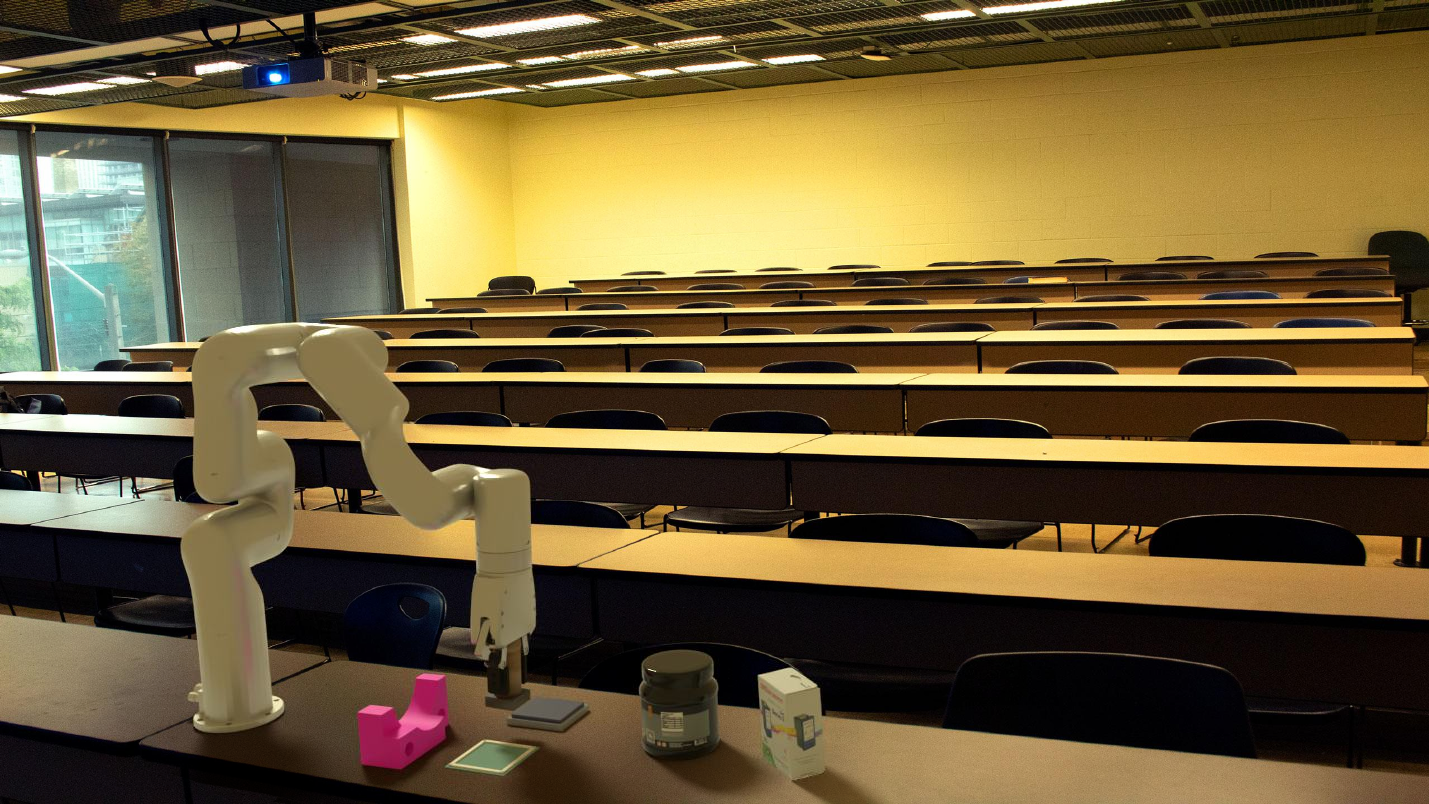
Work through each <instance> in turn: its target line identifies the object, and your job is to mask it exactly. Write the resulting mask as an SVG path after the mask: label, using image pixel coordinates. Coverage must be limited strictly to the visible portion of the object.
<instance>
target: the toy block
mask: <svg viewBox="0 0 1429 804" xmlns="http://www.w3.org/2000/svg"><path fill="white" fill-rule="evenodd" d="M448 704H449V703H448V688H447V675H445V674H432V673H425V672H424V673H422V674H420V675H418V676H417V677H415V680H414V690H413V694H412V699H411V701H410V703H409V706H408V708H407V710H406V711H405V713H404V715H403V716H402V717H401V718H400V719H399V720H398V717H397V715H396V712H395V708H394V707H392V706H384V705H383V706H382V705H375V704H369V705H368V706H365V707H364V708H362V709H361V710H359V711H357V721H358V735H359V745H360V746H359V747H360V758H361V759H360V761H361V765H362V766H369V767H370V766H372V767H379V768H387V769H394V770H395V769H396V770H402V769H404V768H406V767H407V766H408V765H411V764H412V763H413V762H414V761H416V760H417V759H419V758H420V757H421V756H423V755H424V754H426V753H427V752H429V751H430V750H431V749H433V748H434V747H436V746H437V745H439V744H440V743H442V742H443V741H444V740H446V739H447V738H446V737H447V736H446V727H448V726H449V725H450V720H449V719H450V717H449V705H448Z"/></svg>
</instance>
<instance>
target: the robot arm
mask: <svg viewBox="0 0 1429 804" xmlns="http://www.w3.org/2000/svg"><path fill="white" fill-rule="evenodd" d="M388 363H389V351H388V348H387V345H386V344H385V342H384V340H383V339H382V338H381V336H379V334H378V333H376V332H375V331H374V330H372V329H370V328H367V327H364V326H360V325H339V324H338V325H336V324H325V323H323V324H321V323H311V322H310V323H308V322H283V323H282V322H281V323H270V324H254V325H253V324H252V325H243V326H238V327H234V328H233V327H232V328H229V329H225V330H222V331H219V332H217V333H215V334H212V335H211V336H210V337H208V338H207V339H206V340H204V341H203V343H202V344H201V345H200V346H199V348H198V349H197V350H196V352H195V354H194V357H193V360H192V365H191V385H192V393H193V405H194V407H193V409H194V413H193V415H194V418H193V419H194V420H193V452H192V453H193V454H192V455H193V456H192V459H193V461H192V475H193V476H192V477H193V484H194V485H193V486H194V488H195V490H196V493H197V494H198V495H199V496H200V498H202V499H203V500H204V501H206V502H208V503H213V504H227V503H231V502H236V501H238V502H237V503H238V504H234V505H230V506H227V507H224V508H220V509H217V510H214V511H212V512H209V513H207V514H204V515H202V516H200V517H198V518H197V519H195V520H193V522H191V523H190V524H189V525H188V527H187V528H186V529H185V530H184V532H183V535H182V537H181V539H180V540H181V541H180V554H181V559H182V562H183V565H184V568H185V571H186V574H187V577H188V582H189V584H190V589H191V596H192V604H193V611H194V622H195V629H196V639H197V641H196V642H197V649H198V660H199V661H198V662H199V671H200V673H199V674H200V681H201V683H200V682H199V683H197V684H196V685H194V687H193V691H191V692H189V693H188V695H187V700H188V701H189V702H193V703H198V708H199V710H198V711H197V712H196V713H195V714H194V716H193V717H192V718H193V719H192V721H193V726H194V727H195V729H197V730H198V731H201V732H203V733H209V734H227V733H229V734H230V733H236V732H241V731H247V730H251V729H253V728H257V727H261V726H263V725H266V724H268V723H271V722H273V721H274V720H276V719H278V718H279V717H280V716H281V715H283V713H284V712H285V702H284V700H283V699H282V698H280V697H278V696H275V695H273V692H272V691H273V690H272V679H271V670H270V658H269V657H270V656H269V648H268V636H267V635H268V633H267V623H266V613H265V603H264V596H263V593H262V590H261V588H260V585H259V584H258V581H257V580H256V578H255V577H254V574H253V573H252V570H251V567H254V566H255V565H257V564H260V563H263V562H266V561H267V560H269V559H272V558H275V557H276V556H278V555H280V554H281V553H282V552H283V551H284V550H285V549H287V547H288V545H289V544H290V541H291V539H292V536H293V531H294V523H295V522H294V521H295V520H294V519H295V518H294V517H295V488H296V487H295V485H296V465H295V460H294V458H295V457H294V455H293V452H292V449H291V447H290V446H289V445H288V443H287V442H286V440H285V439H283V437H281V436H280V435H279V434H277V433H276V432H273V431H269V430H267V429H266V430H264V429H263V430H262V429H258V420H259V419H258V418H259V413H258V406H257V402H256V400H255V397H254V396H253V395H254V394H253V393H252V391H251V390H250V388H251V387H254V386H258V385H265V384H273V383H274V384H275V383H279V382H286V381H292V380H306V381H307V382H308V384H309V385H310V386H311V387H312V388H313V389H314V391H315V392H316V393H317V394H318V395H319V396H320V397H321V398H322V400H324V401H325V403H327V405H328V406H329V407H330V408H331V409H332V410H333V411H334V413H336V415H338V417H339V418H340V419H341V420H342V421H343V422H344V424H345V425H347V427H348V428H349V429H350V430H351V431H352V433H354V435H355V436H356V437H357V438H358V440H359V443H360V444H361V445H360V446H361V453H362V457H363V460H364V463H365V466H366V468H367V469H366V470H367V473H368V474H369V477H370V479H371V481H372V484H374V486H375V487H376V489H377V490H378V491H379V493H380V494H381V496H382V497H383V498H384V499H385V500H386V501H387V503H389V504H390V506H392V508H393V509H394V510H395V511H396V512H397V513H398V514H399V515H400V516H401V517H402V518H403V519H404V520H406V521H407V522H408V523H409V524H411V525H412V526H414V527H416V528H418V529H420V530H424V531H437V530H441V529H443V528H445V527H448V526H450V525H452V524H454V523H456V522H458V521H462V520H465V519H468V518H471V517H474V528H475V529H474V532H475V558H476V560H475V563H476V566H475V567H476V569H475V570H476V573H475V575H474V579H473V583H472V592H471V601H470V602H471V605H470V641H471V644H472V645H475V650H474V656H475V657H476V658H478V659H480V660H482V661H483V662H484V664H483V665H484V667H486V678H487V679H486V681H487V683H486V684H487V686H486V687H487V692H488V694H489V693H491V694H497V695H503V696H507V695H508V694H509V693H510V689H509V667H507V666H506V656H507V645H508V644H510V643H512V642H513V641H515V640H517V639H518V638H520V639H521V685H525V684H527V682H528V666H527V665H528V664H527V662H528V661H527V655H528V653H529V642H530V640H531V635H532V633H533V632H534V630H535V628H536V625H537V623H536V622H537V621H536V620H537V619H536V616H537V612H536V611H537V609H536V608H537V607H536V604H537V603H536V591H535V583H534V576H533V575H534V574H533V562H532V561H533V557H532V556H533V555H532V550H533V549H532V523H531V522H532V521H531V519H532V518H531V516H532V515H531V510H532V509H531V483H530V482H531V481H530V478H529V476H528V474H526V472H524V471H523V470H519V469H513V468H497V469H490V468H485V467H482V466H476V465H471V464H465V463H464V464H463V463H457V464H452V465H449V466H446V467H443V468H440V469H437V470H435V471H430V470H429V469H428V467H426V466H425V464H424V463H422V461H421V460H420V459H419V458H418V457H417V456H416V454H415V453H414V452H413V450H412V449H411V447H410V446H409V445H408V442H407V440H406V437H405V434H404V428H403V427H404V421H405V418H406V417H407V415H408V413H409V411H410V402H409V400H408V398H407V396H405V395H404V394H403V392H402V391H401V390H400V389H399V388H398V387H397V386H396V385H395V384H394V383H393V381H391V379H390V378H389V377H388V376H387V375H386V374H385V372H386V370H387V368H388ZM493 640H495V643H493ZM493 649H497V650H499V656H498V655H497V654H496V653H495V652H493Z"/></svg>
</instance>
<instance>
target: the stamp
mask: <svg viewBox="0 0 1429 804" xmlns="http://www.w3.org/2000/svg"><path fill="white" fill-rule="evenodd" d="M493 643H495V640H493ZM493 652H495V653H496V654H497V655H498V656H499V650H497V649H493ZM506 666H507V667H509V689H510V693H509V694H508V695H507V696H503V695H497V694H491V693H489V692H488V694H486V695H485V696H484V706H485V707H486V708H493V709H498V710H503V711H510V712H515V711H516V710H518V709H519V708H521V707H522V706H523V705H525V704H526V703H528V702H529V701H531V700H532V699H531V689H530V688H525V687H522V684H521V639H520V638H518V639H517V640H515V641H513V642H512V643H510V644H508V645H507V656H506Z"/></svg>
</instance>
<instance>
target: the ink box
mask: <svg viewBox="0 0 1429 804" xmlns="http://www.w3.org/2000/svg"><path fill="white" fill-rule="evenodd" d="M757 682H758V684H757V685H758V698H759V701H758V702H759V710H760V711H759V713H760V714H759V715H760V726H761V729H760V730H761V740H762V754H763V758H764V757H765V758H764V759H765V760H766V759H767V760H768V761H770V762H771V763H770V762H769V763H770V764H771V765H772V764H773V765H774V766H776V767H777V768H778V769H780V770H781V771H782V772H783V773H784V774H786V775H787V776H789V778H790V779H796V778H801V777H804V776H807V775H808V776H809V775H814V774H819V773H821V772H824V771H825V772H826V761H825V748H824V747H825V746H824V734H823V733H824V731H823V715H822V702H821V701H822V700H821V688H820V687H818V685H817V683H814V681H812V680H810V679H809V678H807V676H804V675H803V674H801V673H800V672H799V671H798V670H796V669H795V668H793V667H787V668H783V669H778V670H774V671H770V672H766V673H762V674H758V675H757ZM767 760H766V761H767ZM768 761H767V762H768ZM773 765H772V766H773ZM774 766H773V767H774ZM776 767H775V768H776ZM777 768H776V769H777ZM778 769H777V770H778ZM783 773H782V774H783ZM784 774H783V775H784ZM789 778H788V779H789ZM790 779H789V780H790Z"/></svg>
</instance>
